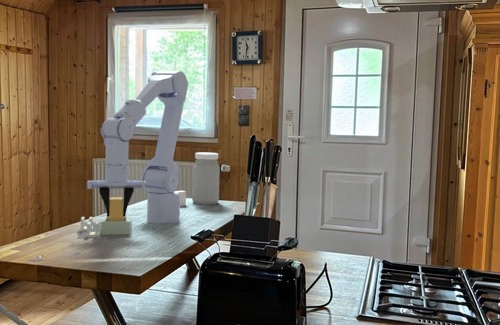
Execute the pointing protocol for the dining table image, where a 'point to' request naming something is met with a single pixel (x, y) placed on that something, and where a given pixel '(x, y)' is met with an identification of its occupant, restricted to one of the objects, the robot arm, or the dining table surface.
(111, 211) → the connector plug
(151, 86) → the robot arm
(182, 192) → the napkin holder
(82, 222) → the cable clip
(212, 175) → the jar
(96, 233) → the cable clip
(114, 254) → the dining table surface
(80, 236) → the mat
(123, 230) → the end holder
